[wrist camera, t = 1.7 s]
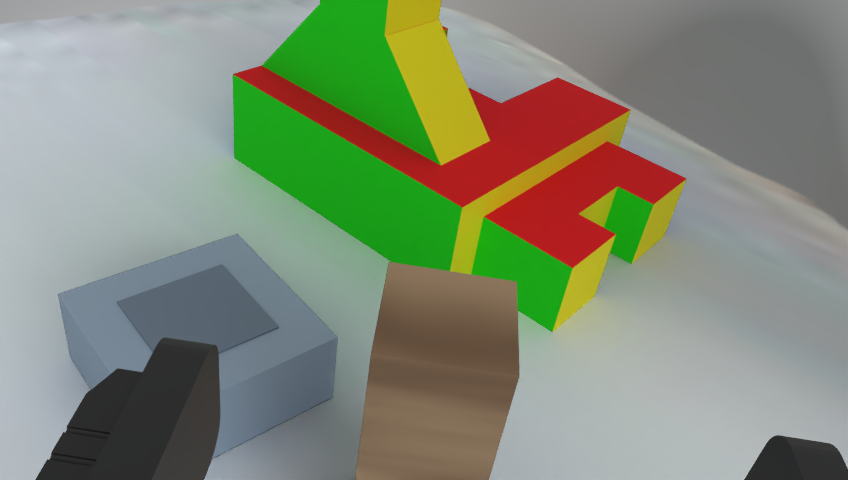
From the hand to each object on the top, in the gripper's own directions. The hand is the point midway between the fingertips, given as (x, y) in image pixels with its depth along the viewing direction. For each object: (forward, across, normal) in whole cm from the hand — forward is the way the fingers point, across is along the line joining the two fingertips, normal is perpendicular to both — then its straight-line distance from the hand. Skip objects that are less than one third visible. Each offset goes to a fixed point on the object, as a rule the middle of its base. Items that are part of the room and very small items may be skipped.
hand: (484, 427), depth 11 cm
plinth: (+18, +10, +20) cm, 28 cm away
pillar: (+11, 0, +20) cm, 23 cm away
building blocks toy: (+38, -1, +20) cm, 43 cm away
